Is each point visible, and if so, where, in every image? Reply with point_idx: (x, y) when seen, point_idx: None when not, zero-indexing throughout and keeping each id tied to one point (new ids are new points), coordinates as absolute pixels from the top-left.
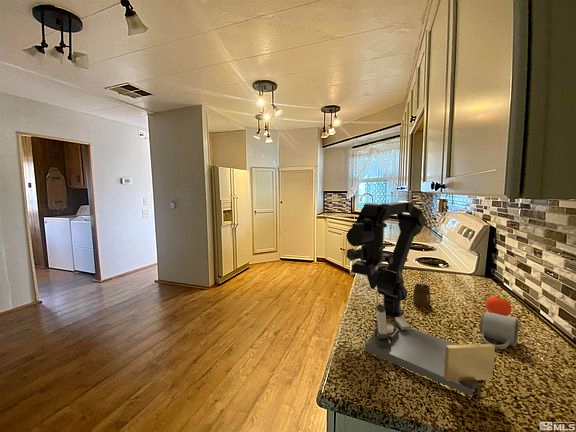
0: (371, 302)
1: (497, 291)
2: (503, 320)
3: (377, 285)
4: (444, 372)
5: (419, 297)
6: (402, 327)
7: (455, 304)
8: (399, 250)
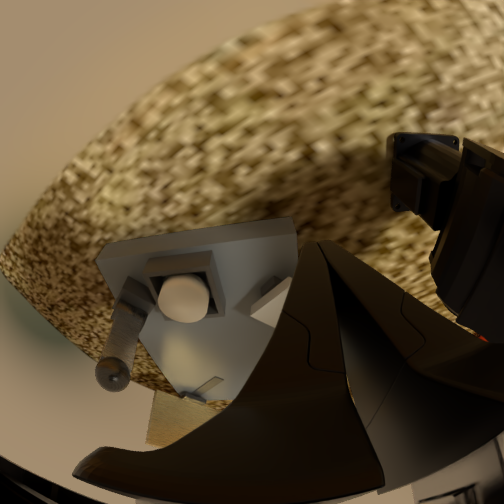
0: (448, 70)
1: None
2: None
3: (475, 174)
4: (155, 398)
5: None
6: (251, 314)
7: None
8: None
